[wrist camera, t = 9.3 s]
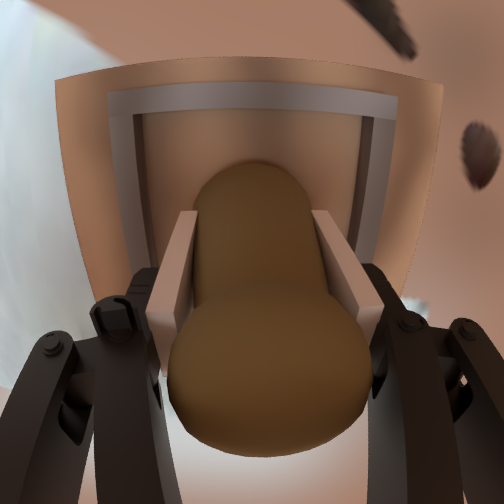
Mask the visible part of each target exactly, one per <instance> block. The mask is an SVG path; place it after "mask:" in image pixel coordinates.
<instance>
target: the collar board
mask: <svg viewBox="0 0 504 504" xmlns="http://www.w3.org/2000/svg"><path fill="white" fill-rule="evenodd" d="M443 90H444V85H441V84H437V83H434V82H430V81H426V80H422V79H418V78H414V77H410V76H406V75H402V74H397V73H393V72H388V71H383V70H377V69H372V68H367V67H361V66H355V65H348V64H341V63H333V62H325V61H316V60H305V59H292V58H275V57H205V58H188V59H176V60H165V61H156V62H148V63H140V64H133V65H126V66H120V67H114V68H108V69H103V70H98V71H93V72H88V73H84V74H79V75H75V76H71V77H67V78H63V79H59V80H55V95H56V110H57V121H58V131H59V139H60V147H61V155H62V161H63V168H64V174H65V180H66V186H67V191H68V196H69V201H70V206H71V211H72V216H73V220H74V225H75V229H76V233H77V237H78V241H79V245H80V249H81V253H82V257H83V260H84V264H85V267H86V271H87V274H88V278H89V281H90V284H91V288H92V291H93V294H94V297H95V300H96V303H97V302H98V301H100V300H101V299H103V298H105V297H109V296H113V295H124V296H125V294H126V292H127V289H128V287H129V286H130V282H131V280H132V278H133V276H134V275H135V274H136V273H137V272H138V271H139V270H140V269H141V268H150V267H160V266H161V263H162V261H163V258H164V255H165V252H166V249H167V247H168V244H169V241H170V238H171V236H172V233H173V230H174V228H175V225H176V222H177V220H178V217H179V214H180V212H181V211H192V209H193V203H194V201H195V199H196V197H197V196H198V194H199V192H200V190H201V188H202V187H203V186H204V185H205V184H206V183H207V182H208V181H209V180H210V179H211V178H212V177H214V176H215V175H216V174H217V173H219V172H221V171H223V170H226V169H228V168H230V167H233V166H235V165H240V164H250V163H260V164H265V165H269V166H274V167H278V168H279V169H281V170H283V171H284V172H286V173H288V174H289V175H291V176H293V177H294V178H295V179H296V180H297V181H298V183H299V184H300V185H301V186H302V187H303V189H304V190H305V191H306V193H307V196H308V198H309V201H310V204H311V207H312V210H327V211H328V212H329V214H330V216H331V217H332V219H333V220H334V222H335V223H336V225H337V226H338V228H339V230H340V231H341V233H342V234H343V236H344V238H345V239H346V241H347V242H348V244H349V246H350V247H351V249H352V251H353V252H354V254H355V256H356V257H357V259H358V261H359V262H360V263H373V264H374V265H375V266H377V267H378V268H379V269H381V270H382V271H383V273H384V275H385V276H386V278H387V281H389V282H390V284H391V285H392V288H394V290H395V292H396V293H397V295H398V296H399V298H400V297H401V294H402V291H403V288H404V285H405V282H406V279H407V276H408V272H409V269H410V266H411V262H412V259H413V255H414V252H415V248H416V245H417V241H418V237H419V233H420V229H421V225H422V221H423V217H424V213H425V208H426V204H427V199H428V195H429V190H430V185H431V179H432V174H433V169H434V162H435V157H436V151H437V143H438V137H439V129H440V121H441V112H442V102H443Z"/></svg>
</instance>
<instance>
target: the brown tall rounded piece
mask: <svg viewBox="0 0 504 504" xmlns="http://www.w3.org/2000/svg"><path fill="white" fill-rule="evenodd" d="M311 210H312V207H311V204H310V201H309V198H308V196H307V193H306V191H305V190H304V189H303V187H302V186H301V185H300V184H299V183H298V181H297V180H296V179H295V178H294V177H293V176H291V175H289V174H288V173H286V172H284V171H283V170H281V169H279V168H278V167H274V166H269V165H265V164H260V163H250V164H240V165H235V166H233V167H230V168H228V169H226V170H223V171H221V172H219V173H217V174H216V175H215V176H214V177H212V178H211V179H210V180H209V181H208V182H207V183H206V184H205V185H204V186H203V187H202V188H201V190H200V192H199V194H198V196H197V197H196V199H195V201H194V203H193V209H192V211H198V216H197V223H196V230H195V238H194V251H193V269H192V286H193V308H194V310H193V311H192V312H191V314H190V316H189V317H188V319H187V320H186V322H185V323H184V325H183V327H182V328H181V330H180V332H179V333H178V335H177V337H176V338H175V340H174V342H173V344H172V346H171V351H170V356H169V361H168V371H167V388H168V395H169V401H170V403H171V405H172V407H173V409H174V410H175V412H176V414H177V416H178V418H179V420H180V421H181V423H182V424H183V426H184V428H185V429H186V431H187V432H188V433H189V434H191V435H192V436H193V437H195V438H196V439H197V440H199V441H200V442H202V443H204V444H206V445H208V446H210V447H213V448H215V449H218V450H220V451H223V452H226V453H229V454H235V455H240V456H245V457H276V456H285V455H291V454H295V453H299V452H303V451H306V450H310V449H312V448H315V447H317V446H320V445H322V444H325V443H327V442H329V441H330V440H332V439H333V438H335V437H336V436H338V435H339V434H341V433H342V432H344V431H345V430H346V429H347V428H349V427H350V426H351V425H352V424H353V423H354V422H355V421H356V420H357V418H358V417H359V416H360V415H361V414H362V413H363V410H364V408H365V405H366V402H367V399H368V396H369V393H370V390H371V386H372V383H373V380H374V379H373V366H372V359H371V354H370V349H369V345H368V342H367V339H366V337H365V335H364V333H363V331H362V328H361V326H360V325H359V324H358V323H357V322H356V320H355V319H354V318H353V317H352V316H351V315H350V314H349V313H348V311H347V310H346V309H345V308H344V307H343V306H342V305H341V304H340V303H339V302H338V301H337V300H336V299H335V297H333V296H331V295H330V294H329V288H328V283H327V278H326V272H325V267H324V262H323V257H322V252H321V248H320V244H319V240H318V237H317V233H316V229H315V225H314V221H313V217H312V214H311Z"/></svg>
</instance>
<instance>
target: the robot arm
mask: <svg viewBox="0 0 504 504" xmlns="http://www.w3.org/2000/svg"><path fill="white" fill-rule="evenodd" d="M311 214H312V217H313V221H314V225H315V229H316V233H317V237H318V240H319V244H320V248H321V252H322V257H323V262H324V267H325V272H326V278H327V283H328V288H329V294H330V295H331V296H333V297H335V299H336V300H337V301H338V302H339V303H340V304H341V305H342V306H343V307H344V308H345V309H346V310H347V311H348V313H349V314H350V315H351V316H352V317H353V318H354V319H355V320H356V322H357V323H358V324H359V325H360V326H361V328H362V331H363V333H364V335H365V337H366V339H367V342H368V345H369V349H370V354H371V359H372V366H373V379H374V380H373V383H372V386H371V390H370V393H369V396H368V439H369V440H368V441H369V443H368V447H369V448H368V455H369V456H368V491H367V504H464V498H463V491H464V494H465V497H466V500H467V503H468V504H504V360H503V358H502V356H501V355H500V353H499V352H498V351H497V349H496V347H495V346H494V345H493V343H492V342H491V340H490V339H489V337H488V336H487V334H486V333H485V332H484V330H483V329H482V328H481V327H480V326H479V325H478V324H477V323H476V322H474V321H473V320H470V319H467V318H457V319H455V320H454V321H453V322H452V323H451V325H450V327H449V329H443V328H436V327H430V326H429V325H428V323H427V321H426V320H425V319H424V318H423V317H422V316H421V315H420V314H418V313H415V312H413V311H409V310H407V309H406V308H405V306H404V304H403V303H402V301H401V300H400V298H399V296H398V295H397V293H396V292H395V290H394V288H392V285H391V284H390V282H389V281H387V278H386V276H385V275H384V273H383V271H382V270H381V269H379V268H378V267H377V266H375V265H374V264H373V263H360V262H359V261H358V259H357V257H356V256H355V254H354V252H353V251H352V249H351V247H350V246H349V244H348V242H347V241H346V239H345V238H344V236H343V234H342V233H341V231H340V230H339V228H338V226H337V225H336V223H335V222H334V220H333V219H332V217H331V216H330V214H329V212H328V211H327V210H311ZM197 216H198V211H181V212H180V214H179V217H178V220H177V222H176V225H175V228H174V230H173V233H172V236H171V238H170V241H169V244H168V247H167V249H166V252H165V255H164V258H163V261H162V263H161V266H160V267H150V268H141V269H140V270H139V271H138V272H137V273H136V274H135V275H134V276H133V278H132V280H131V282H130V286H129V287H128V289H127V292H126V294H125V296H124V295H113V296H109V297H105V298H103V299H101V300H100V301H98V302H97V303H96V304H95V305H94V306H93V307H92V308H91V311H90V313H89V314H90V317H91V319H92V322H93V325H94V327H95V330H96V332H97V335H98V336H97V337H94V338H91V339H86V340H80V341H75V342H74V341H73V339H72V337H71V336H70V335H69V334H68V333H67V332H64V331H52V332H49V333H47V334H45V335H43V336H42V337H41V338H39V340H38V341H37V342H36V344H35V345H34V347H33V349H32V351H31V353H30V355H29V357H28V359H27V361H26V363H25V365H24V367H23V369H22V371H21V373H20V375H19V377H18V379H17V381H16V383H15V385H14V387H13V390H12V392H11V394H10V396H9V398H8V401H7V403H6V405H5V408H4V410H3V412H2V415H1V417H0V504H78V499H79V494H80V489H81V484H82V479H83V473H84V469H85V465H86V460H87V456H88V452H89V447H90V443H91V439H92V435H93V431H94V459H95V460H94V461H95V478H96V491H97V501H98V504H182V500H181V495H180V491H179V487H178V482H177V478H176V473H175V469H174V464H173V459H172V453H171V448H170V443H169V437H168V432H167V426H166V420H165V413H164V407H163V400H162V393H161V387H160V384H159V381H158V375H159V370H160V368H161V371H162V374H163V377H167V371H168V361H169V356H170V351H171V346H172V344H173V342H174V340H175V338H176V337H177V335H178V333H179V332H180V330H181V328H182V327H183V325H184V323H185V322H186V320H187V319H188V317H189V316H190V314H191V312H192V311H193V310H194V308H193V286H192V269H193V251H194V238H195V230H196V223H197ZM463 375H464V376H465V378H466V379H467V381H468V382H467V384H466V385H463V384H462V382H461V378H462V377H463Z"/></svg>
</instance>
